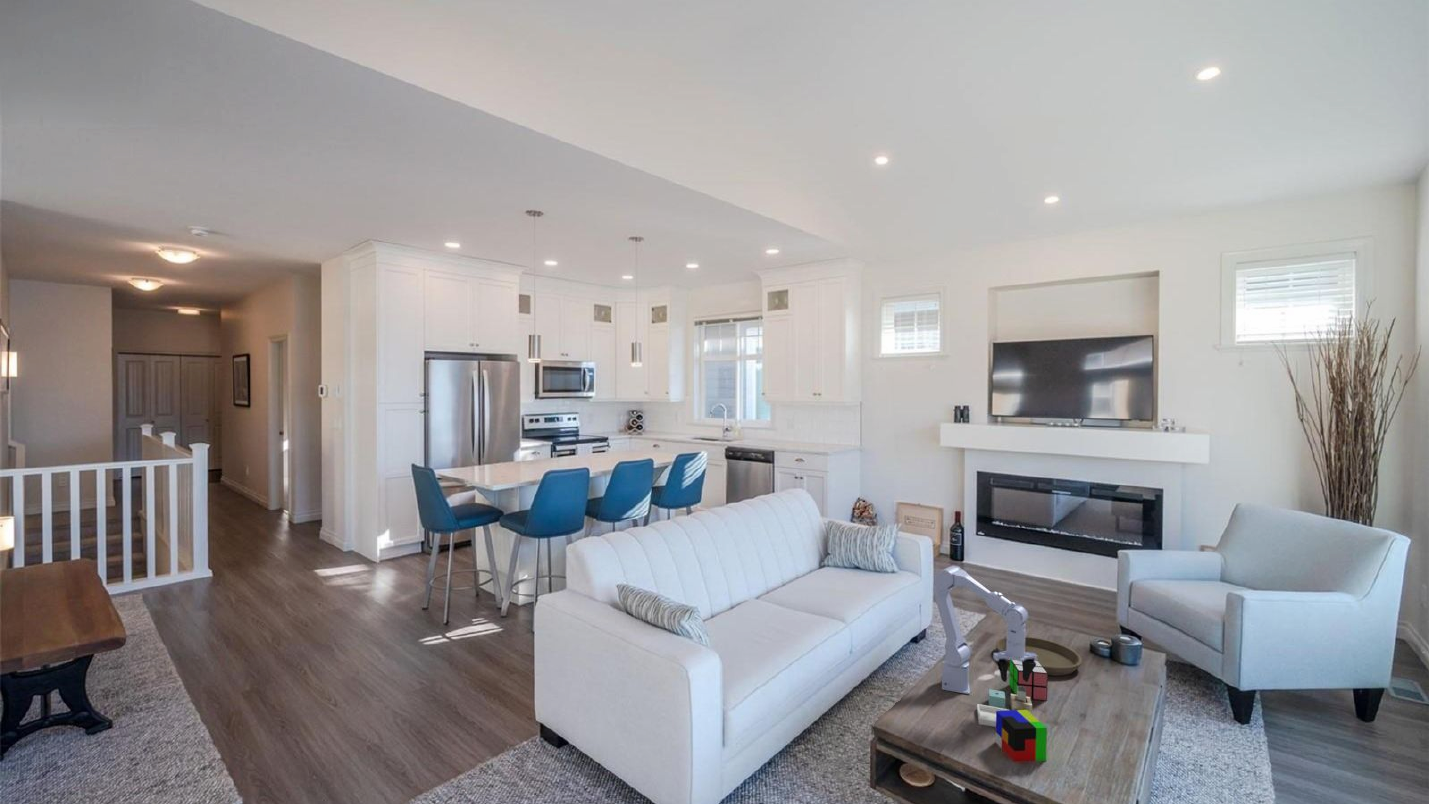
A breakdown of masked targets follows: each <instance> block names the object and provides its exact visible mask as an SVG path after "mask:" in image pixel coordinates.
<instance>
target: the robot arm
mask: <svg viewBox="0 0 1429 804" xmlns="http://www.w3.org/2000/svg"><path fill="white" fill-rule="evenodd" d="M934 580H935V581H934V584H933V589H932V590H933V594H934V598H935V601H936V605H937V608H938V612H939V615H940V619H941V623H942V628H943V630H944V633H945V637H946V640H945V643H944V649H945V654H944V657H945V660H944V661H941V663H942V666H941V667H942V668H941V672H942V673H941V677H940V682H941V689H942V690H943V691H948V692H953V693H958V694H959V693H961V694H965V695H970V694H971V691H970V690H971V689H970V682H969V676H970V675H969V674H970V667H969V666H970V663H969V661H970V659H971V658H972V657H973V651H972V648H971V646H970V645H969V643H968V641H967V639H966V638H965V637H964V636H963V635H962V632H961V628H960V625H959V621H958V619H957V615H956V611H955V608H954V604H953V601H952V597H951V594H950V592H951V591H952V590H953V588H962V587H963V588H966V589H967V590H969V591H970V592H972V593H974V594H976V595H977V596H979V597H980V598H982V599H984V601H985V603H986V605H987V606H988V607H989V608H990V609H992V610H993V611H995V612H997V613H998V614H999V615H1000V616H1002V617H1004V619H1005V622H1006V624H1007V625H1006V637H1007V645H1006V651H1004V652H999V651H998V652H993V659H994V661H995V662H996V665H997V667H998V670H999V674H1000V680H1002V681H1003V682H1004V683H1006V682H1007V680H1008V669H1009V668H1010V664H1008V662H1007V661H1006V660H1018V661H1022V666H1023V674H1022V676H1023V680H1025V681H1026V682H1028V679H1029V676H1030V674H1031V672H1032V670H1033V669H1034V667H1035V666H1036V663H1035V662H1034V661H1037V655H1036V654H1035V653H1028V652H1025V637H1026V633H1027V632H1026V631H1027V630H1026V625H1027V624H1026V622H1027V620H1028V619H1029V612H1028V610H1027V609H1026V607H1024V605H1022V604H1016V603H1015V602H1014V601H1013V602H1012V601H1010V600H1009V599H1008V598H1006V597H1005V596H1004V594H1003V593H1002V592H1000V591H999V592H997V591H990V590H989V589H987V587H985V586H984V585H982V583H980V582H978V581H977V580H976V579H974V578H973V577H972V576H971V575H969V574H968V572H967V571H966V570H964V569H962V568H961V567H960V566H958V565H953V564H952V565H950V566H948V567H945V568H943V569H941V570H939V571H937V573H936V574H935V576H934Z"/></svg>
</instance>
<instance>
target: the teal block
mask: <svg viewBox="0 0 1429 804" xmlns="http://www.w3.org/2000/svg"><path fill="white" fill-rule="evenodd" d="M988 706H992V707H998V708H1003V709H1006V693H1005V691H1002V690H998V689H997V690H995V689H990V688H989V689H988Z"/></svg>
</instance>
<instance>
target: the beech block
mask: <svg viewBox="0 0 1429 804" xmlns="http://www.w3.org/2000/svg"><path fill="white" fill-rule="evenodd" d="M1010 708H1011V710H1027V711H1029V712H1030V713H1031V714H1032V715H1033V703H1032V699H1030V697H1027V696H1026V703H1024V702H1019V701H1017V695H1016V694H1015V693H1010Z"/></svg>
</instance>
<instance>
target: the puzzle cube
mask: <svg viewBox="0 0 1429 804" xmlns="http://www.w3.org/2000/svg"><path fill="white" fill-rule="evenodd" d="M1034 662H1035V663H1036V666H1035V667H1034V669H1033V670H1032V672H1031V674H1030V676H1029V679H1028V682H1026V681H1025V680H1023V676H1022V674H1023V666H1022V661H1018V660H1010V663H1009V676H1008V677H1009V678H1008V679H1009V681H1008V682H1009V684H1008V685H1009V687H1010V688H1011V690H1012V691H1013V694H1016V695H1017V686H1022V687H1025V688H1026V696H1027V697H1030V699H1031V700H1036V701H1037V700H1038V701H1047V700H1048V679H1049V675H1048V673H1047V672H1046V671H1045V670H1044V668H1043V667H1042V666H1041V664H1040V663H1039V662H1038V661H1034Z"/></svg>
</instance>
